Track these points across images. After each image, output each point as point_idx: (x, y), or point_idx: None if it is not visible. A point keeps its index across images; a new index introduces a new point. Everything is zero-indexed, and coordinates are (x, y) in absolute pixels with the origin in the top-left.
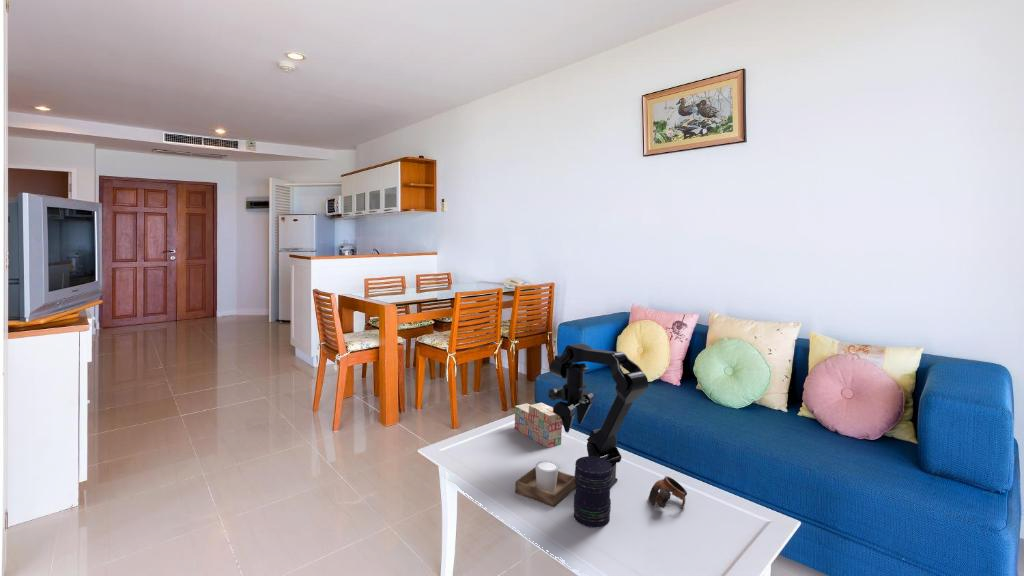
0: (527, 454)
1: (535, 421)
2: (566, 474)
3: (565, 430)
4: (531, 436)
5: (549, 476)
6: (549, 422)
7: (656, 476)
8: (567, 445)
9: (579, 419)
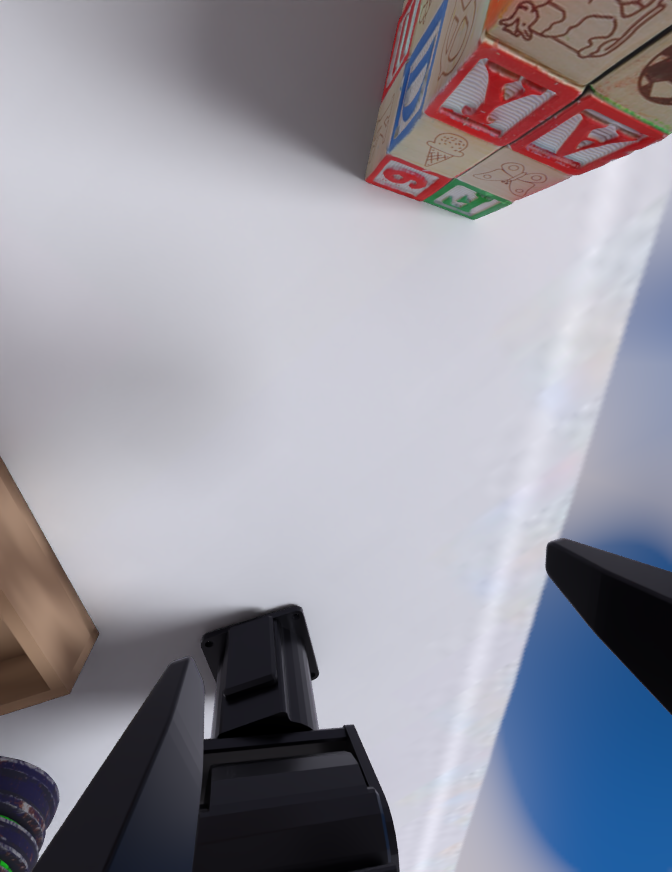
0: (146, 108)
1: None
2: (29, 653)
3: (158, 696)
4: None
5: None
6: (509, 20)
7: (449, 702)
8: (485, 267)
9: (598, 600)
